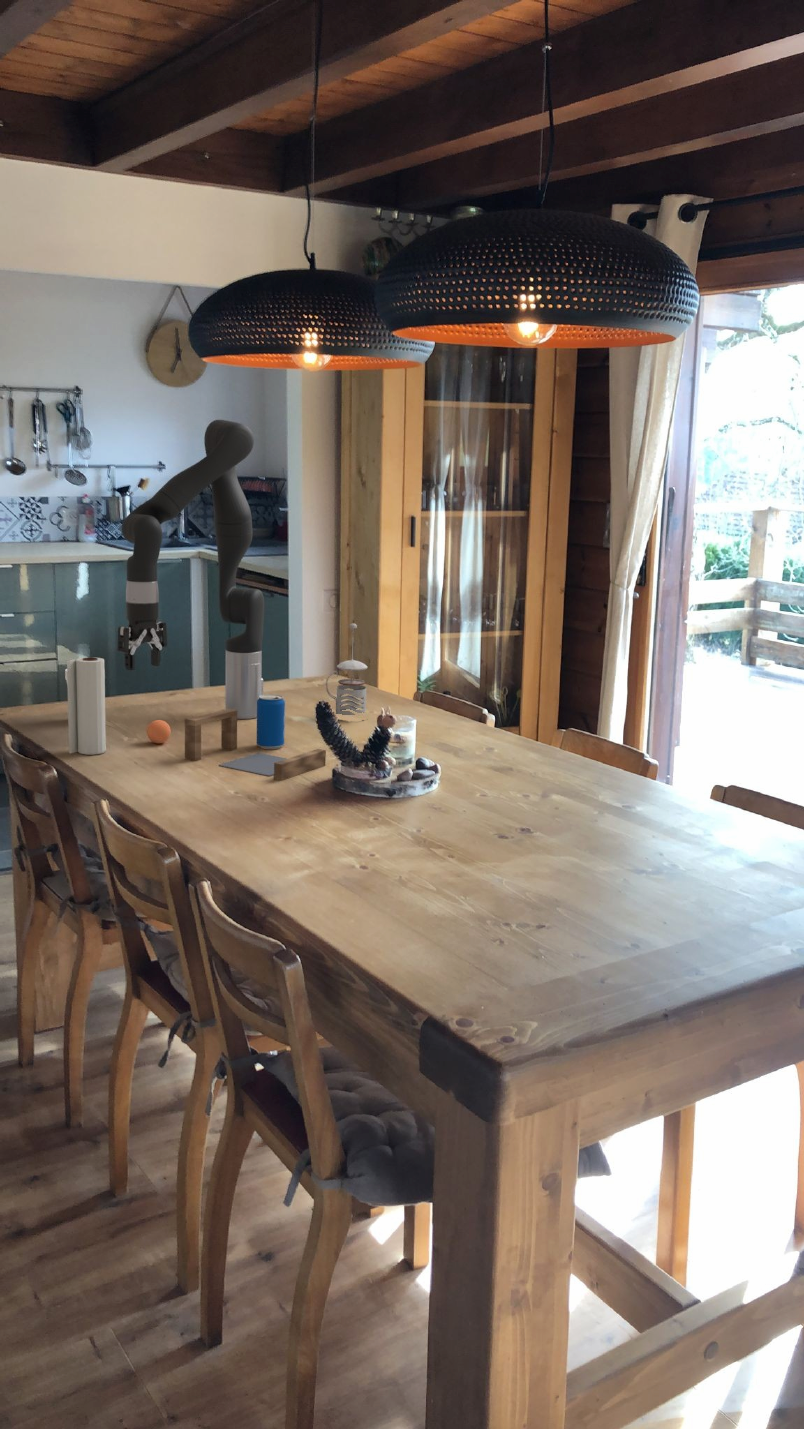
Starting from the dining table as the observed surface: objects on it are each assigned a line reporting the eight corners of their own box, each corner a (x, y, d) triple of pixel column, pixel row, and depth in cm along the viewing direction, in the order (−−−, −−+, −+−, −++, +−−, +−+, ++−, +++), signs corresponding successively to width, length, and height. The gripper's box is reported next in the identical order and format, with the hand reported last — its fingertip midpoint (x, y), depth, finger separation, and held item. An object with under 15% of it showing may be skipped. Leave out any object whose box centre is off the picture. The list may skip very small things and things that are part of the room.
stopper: (318, 764, 266) (318, 748, 265) (325, 765, 265) (325, 750, 264) (273, 778, 253) (274, 762, 252) (281, 780, 252) (281, 764, 251)
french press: (368, 722, 309) (371, 626, 304) (323, 720, 309) (326, 625, 304) (370, 714, 319) (373, 621, 313) (326, 712, 319) (328, 619, 313)
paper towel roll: (109, 749, 272) (108, 657, 267) (100, 756, 266) (98, 661, 261) (78, 747, 272) (76, 655, 268) (69, 754, 266) (66, 659, 262)
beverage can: (282, 750, 277) (283, 699, 274) (254, 749, 277) (255, 698, 274) (285, 744, 283) (286, 694, 281) (258, 742, 283) (259, 693, 281)
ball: (158, 739, 283) (157, 716, 282) (175, 742, 280) (175, 719, 279) (141, 743, 279) (141, 720, 277) (159, 747, 276) (159, 723, 275)
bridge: (184, 759, 266) (184, 718, 264) (226, 746, 278) (227, 708, 276) (195, 761, 265) (195, 720, 263) (236, 748, 277) (237, 710, 275)
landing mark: (258, 753, 273) (258, 752, 273) (308, 763, 266) (308, 762, 266) (218, 765, 261) (218, 764, 261) (269, 776, 254) (269, 775, 254)
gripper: (132, 604, 274) (133, 673, 277) (175, 599, 286) (175, 665, 289) (108, 601, 278) (109, 669, 281) (151, 596, 289) (152, 662, 293)
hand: (143, 667), depth 285 cm, fingers open, 8 cm apart
